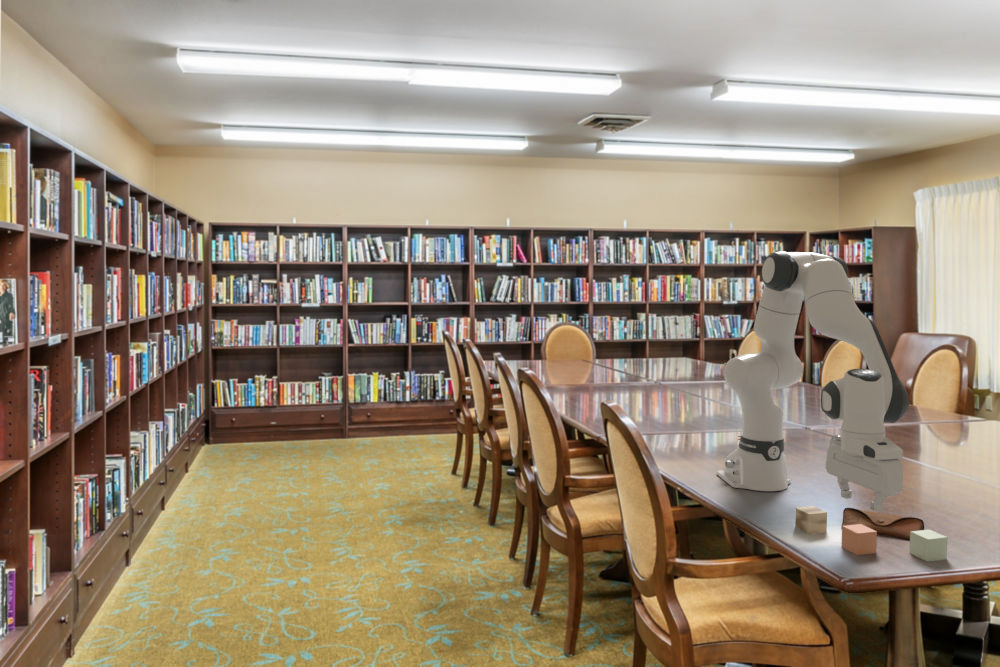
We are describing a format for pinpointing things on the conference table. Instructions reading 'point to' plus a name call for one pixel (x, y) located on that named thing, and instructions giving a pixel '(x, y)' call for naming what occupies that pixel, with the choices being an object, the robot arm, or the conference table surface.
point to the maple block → (811, 520)
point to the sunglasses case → (883, 522)
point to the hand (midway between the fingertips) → (860, 503)
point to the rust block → (859, 539)
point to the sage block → (928, 545)
